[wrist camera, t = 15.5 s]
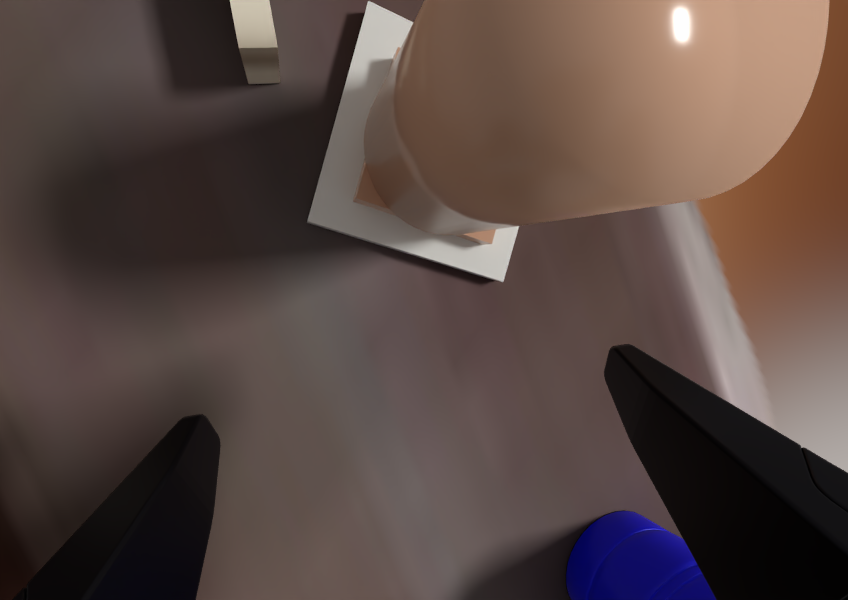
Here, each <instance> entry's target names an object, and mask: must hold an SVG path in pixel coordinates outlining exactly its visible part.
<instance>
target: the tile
mask: <svg viewBox="0 0 848 600" xmlns="http://www.w3.org/2000/svg"><path fill="white" fill-rule="evenodd" d="M412 24H413V22H411V21H409V20H407V19H405V18H403V17H401V16H399V15H397V14H395V13H393V12H390V11H388V10H386V9H384V8H382V7H380V6H378V5H376V4H374V3H372V2H370V1H368V4H367V7H366V11H365V15H364V18H363V22H362V25H361V29H360V33H359V36H358V40H357V43H356V47H355V51H354V54H353V58H352V62H351V65H350V69H349V72H348V76H347V80H346V83H345V87H344V90H343V94H342V98H341V101H340V105H339V108H338V112H337V116H336V119H335V123H334V127H333V130H332V134H331V137H330V141H329V145H328V148H327V152H326V155H325V159H324V163H323V166H322V170H321V173H320V177H319V181H318V184H317V188H316V191H315V195H314V199H313V202H312V206H311V210H310V213H309V217H308V220H307V223H309V224H313V225H316V226H319V227H322V228H325V229H329V230H332V231H335V232H338V233H342V234H345V235H348V236H351V237H355V238H358V239H361V240H364V241H368V242H371V243H374V244H377V245H381V246H384V247H387V248H390V249H394V250H397V251H400V252H403V253H407V254H410V255H413V256H416V257H419V258H423V259H426V260H429V261H432V262H436V263H439V264H442V265H445V266H449V267H452V268H455V269H458V270H462V271H465V272H468V273H471V274H475V275H478V276H481V277H484V278H488V279H491V280H494V281H500V282H503V281H504V277H505V274H506V270H507V267H508V263H509V260H510V256H511V253H512V249H513V246H514V242H515V239H516V235H517V231H518V228H519V226H516V227H509V228H502V229H496V231H495V235H494V238H493V242H492V244H485V245H481V244H478V243H475V242H472V241H469V240H466V239H463V238H460V237H457V236H454V235H447V236H445V235H436V234H431V233H428V232H424V231H422V230H419V229H417V228H414V227H413V226H411V225H409V224H407V223H406V222H404V221H403V220H402V219H400V218H399V217H398V216H395V215H392V214H389V213H386V212H383V211H380V210H377V209H374V208H371V207H368V206H365V205H362V204H359V203H356V202H353V198H354V195H355V191H356V187H357V184H358V180H359V177H360V173H361V169H362V166H363V162H364V159H365V155H364V131H365V126H366V121H367V117H368V114H369V111H370V108H371V106H372V104H373V102H374V100H375V98H376V96H377V94H378V92H379V90H380V88H381V86H382V84H383V82H384V80H385V78H386V76H387V74H388V72H389V69H390V65H391V62H392V58H393V56H394V54H395V52H396V50H397V48H398V47H400V48H401V46H402V44H403V42H404V40H405V38H406V36H407V34H408V32H409V30H410V28H411V26H412Z"/></svg>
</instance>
